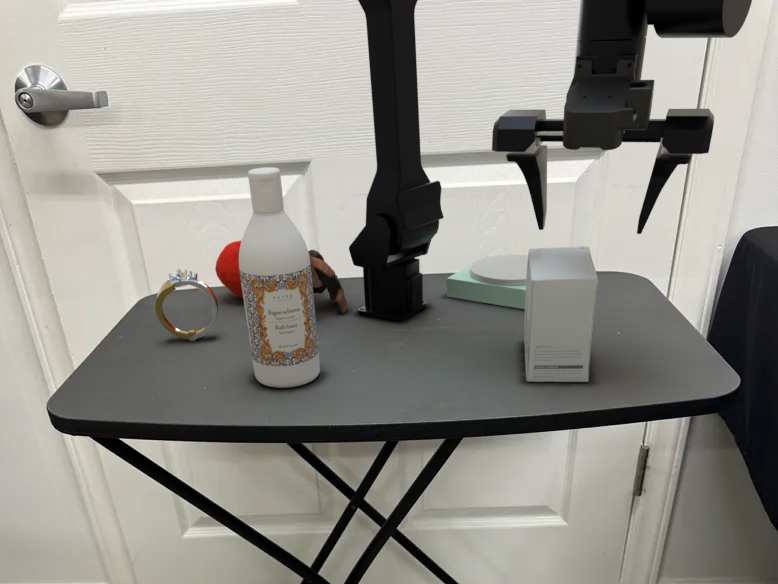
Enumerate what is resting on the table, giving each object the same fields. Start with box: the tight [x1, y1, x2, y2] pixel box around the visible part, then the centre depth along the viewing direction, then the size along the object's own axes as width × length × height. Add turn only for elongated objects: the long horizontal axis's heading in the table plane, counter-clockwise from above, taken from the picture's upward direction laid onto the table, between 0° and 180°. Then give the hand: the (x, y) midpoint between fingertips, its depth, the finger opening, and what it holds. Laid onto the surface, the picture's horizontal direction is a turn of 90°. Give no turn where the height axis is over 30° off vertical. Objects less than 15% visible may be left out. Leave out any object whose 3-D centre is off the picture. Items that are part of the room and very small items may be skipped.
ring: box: [154, 268, 219, 342], centre depth 89 cm, size 7×3×8 cm, turn 92°
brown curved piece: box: [308, 249, 348, 314], centre depth 98 cm, size 12×10×8 cm
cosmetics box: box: [523, 245, 599, 383], centre depth 78 cm, size 10×6×10 cm, turn 172°
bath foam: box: [239, 166, 321, 389], centre depth 76 cm, size 7×7×20 cm
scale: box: [446, 254, 528, 310], centre depth 100 cm, size 13×11×3 cm
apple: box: [214, 240, 243, 299], centre depth 101 cm, size 8×8×7 cm
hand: (589, 230), depth 74 cm, fingers open, 9 cm apart
